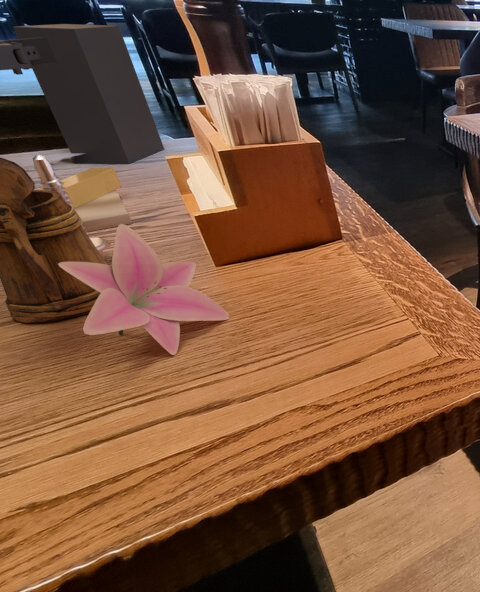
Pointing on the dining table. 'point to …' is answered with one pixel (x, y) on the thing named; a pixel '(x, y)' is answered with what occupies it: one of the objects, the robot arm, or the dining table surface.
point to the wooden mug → (41, 251)
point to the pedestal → (95, 93)
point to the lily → (143, 292)
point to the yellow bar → (90, 185)
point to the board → (103, 212)
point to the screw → (61, 192)
